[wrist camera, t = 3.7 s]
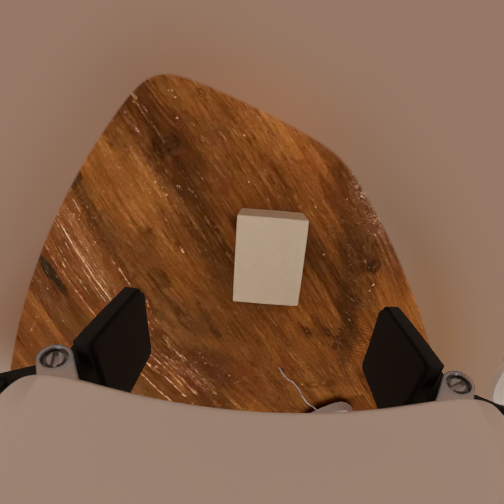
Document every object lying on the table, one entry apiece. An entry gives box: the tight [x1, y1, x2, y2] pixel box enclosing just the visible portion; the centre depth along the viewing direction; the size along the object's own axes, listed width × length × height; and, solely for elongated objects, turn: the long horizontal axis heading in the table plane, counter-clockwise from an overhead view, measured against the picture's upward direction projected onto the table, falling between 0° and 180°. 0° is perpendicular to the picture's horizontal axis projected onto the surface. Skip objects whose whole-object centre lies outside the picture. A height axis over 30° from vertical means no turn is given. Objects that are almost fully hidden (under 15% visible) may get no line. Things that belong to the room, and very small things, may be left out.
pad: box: [233, 208, 309, 306], centre depth 20 cm, size 6×4×3 cm
